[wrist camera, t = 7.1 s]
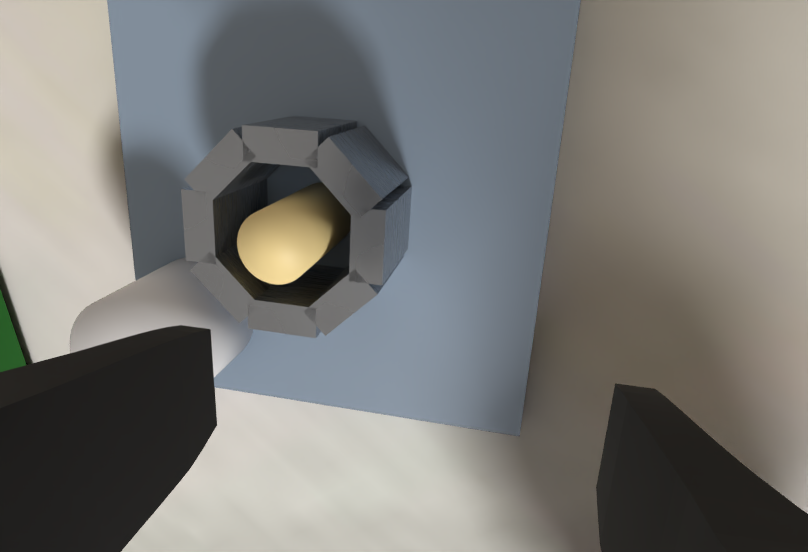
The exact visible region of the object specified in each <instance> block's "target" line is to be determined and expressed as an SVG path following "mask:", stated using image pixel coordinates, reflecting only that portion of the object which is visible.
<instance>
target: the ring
mask: <svg viewBox="0 0 808 552" xmlns="http://www.w3.org/2000/svg"><path fill="white" fill-rule="evenodd" d="M281 165H290V166H301V167H310V169H311V170H312V171H313V172H314V173H315V174H316V175H317V177H318V178H319V179H320V180H321V181H322V182H323V184H324V185H325V186H326V187H327V188H328V189H329V190H330V192H331V193H332V194H333V195H334V196H335V197H336V199H337V200H338V201H339V202H340V203H341V204H342V205H343V207H344V208H345V209H346V210H347V211H348V212H349V214H350V215H351V229H350V263H349V266H348V267H347V268H340V267H332V266H324V265H316V264H314V265H313V266H311V267H310V268H309V269H308V270H307V271H306V272H305V273H303V274H302V275H301V276H300V277H299V278H297V279H296V280H294V281H293V282H290V283H287V284H280V285H277V284H270V283H267V282H264V281H262V280H260V279H258V278H256V277H255V276H254V275H253V274H251V273H250V272H249V271H248V269H247V268H246V267H245V265H244V264H243V262H242V260H241V258H240V256H239V252H238V248H237V237H238V232H239V229H240V227H241V225H242V223H243V222H244V221H245V220H246V218H248V217H249V216H250V215H252V214H253V213H255V212H257V211H259V210H261V209H263V208H265V207H267V206H268V191H267V178H268V177H270V176H271V175H272V174H273V173H274V172H275V171H276V170H277V169H278V168H279V167H280V166H281ZM408 177H409V176H408V175H407V174H406V173H405V172H404V170H403V169H402V168H401V167H400V166H399V164H398V163H397V162H396V161H395V160H394V159H393V157H392V156H391V155H390V154H389V153H388V151H387V150H386V149H385V148H384V147H383V145H382V144H381V143H380V142H379V141H378V140H377V138H376V137H375V136H374V135H373V134H372V132H371V131H370V130H369V129H368V128H367V127H366V125H365V126H362V127H359V128H357V121H353V120H340V119H327V118H315V117H302V116H290V117H284V118H279V119H273V120H267V121H262V122H256V123H250V124H245V125H242V127H239V128H233V129H231V130H230V131H229V132H228V133H227V134H226V136H225V137H224V138H223V139H222V140H221V141H220V142H219V143H218V144H217V145H216V146H215V147H214V148H213V149H212V150H211V151H210V153H209V154H208V155H207V156H206V157H205V158H204V159H203V160H202V161H201V162H200V163H199V164H198V165H197V166H196V167H195V168H194V169H193V171H192V172H191V173H190V174H189V175H188V176H187V177H186V178H185V179H184V180H185V181H186V182H187V183H188V184H189V185H190V186H189V187H186V188H183V189H181V196H182V211H183V226H184V241H185V256H186V261H193V262H198V263H197V264H196V265H195V266H194V267H193V268H192V269H191V270H190V271H191V272H192V273H193V274H194V275H195V276H196V277H197V278H198V279H199V280H200V282H201V283H202V284H203V285H204V286H205V287H206V288H207V289H208V290H209V291H210V292H211V293H212V295H213V296H214V297H215V298H216V299H217V300H218V301H219V302H220V303H221V304H222V305H223V307H224V308H225V309H226V310H227V311H228V312H229V313H230V314H231V315H232V316H233V317H234V318H235V320H236V321H237V322H238V323H240V322H242V321H243V320H244V319H245V318H246V317H247V316H248V329H255V330H262V331H269V332H276V333H283V334H290V335H296V336H303V337H310V338H317V336H318V335H319V334H320V333H321V332H322V333H323V334H324V335H325V336H326V335H327V334H328V333H330V332H331V331H332V330H334V329H335V328H336V327H337V326H339V325H340V324H341V323H342V322H344V321H345V320H346V319H347V318H349V317H350V316H351V315H352V314H354V313H355V312H356V311H357V310H359V309H360V308H361V307H362V306H364V305H365V304H366V303H368V302H369V301H370V300H371V299H373V298H374V297H375V296H376V295H378V293H379V292H380V290H381V289H382V287H383V286H384V285H385V283H386V282H387V280H388V279H389V277H390V276H391V275H392V273H393V272H394V270H395V269H396V267H397V266H398V265H399V263H400V262H401V260H402V259H403V257H404V256H403V255H404V254H405V252H406V251H407V250H408V241H409V225H410V209H411V194H412V186H406V185H400V184H401V183H402V182H403V181H405V180H406V179H407V178H408Z"/></svg>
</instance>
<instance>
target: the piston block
mask: <svg viewBox="0 0 808 552" xmlns="http://www.w3.org/2000/svg"><path fill="white" fill-rule="evenodd" d="M107 2H108V12H109V22H110V32H111V42H112V52H113V62H114V71H115V81H116V91H117V101H118V111H119V121H120V131H121V141H122V151H123V160H124V170H125V180H126V190H127V200H128V210H129V220H130V230H131V239H132V249H133V259H134V269H135V279H136V281H134V282H132V283H130V284H128V285H127V286H125V287H123V288H121V289H119V290H117V291H115V292H113V293H111V294H109V295H107V296H106V297H104V298H102V299H100V300H98V301H96V302H94V303H92V304H91V305H89V306H87V307H86V308H85V309H84V310H83V311H82V312H81V313H80V314H79V315H78V317H77V318H76V320H75V322H74V324H73V327H72V330H71V335H70V353H73V352H77V351H80V350H84V349H87V348H91V347H94V346H98V345H101V344H104V343H108V342H111V341H115V340H118V339H122V338H125V337H129V336H132V335H136V334H140V333H144V332H148V331H152V330H156V329H160V328H165V327H171V326H178V325H184V326H191V327H199V328H206V329H211V342H212V358H213V373H214V387H217V388H223V389H229V390H235V391H242V392H248V393H254V394H260V395H266V396H273V397H279V398H285V399H291V400H297V401H304V402H310V403H316V404H322V405H328V406H334V407H341V408H347V409H353V410H359V411H365V412H372V413H378V414H384V415H390V416H396V417H403V418H409V419H415V420H421V421H427V422H434V423H440V424H446V425H452V426H458V427H464V428H471V429H477V430H483V431H489V432H495V433H502V434H508V435H514V436H520V429H521V422H522V415H523V408H524V401H525V393H526V386H527V379H528V372H529V365H530V358H531V351H532V344H533V336H534V329H535V322H536V315H537V308H538V301H539V294H540V287H541V279H542V272H543V265H544V258H545V251H546V244H547V237H548V230H549V223H550V215H551V208H552V201H553V194H554V187H555V180H556V173H557V166H558V158H559V151H560V144H561V137H562V130H563V123H564V116H565V109H566V102H567V94H568V87H569V80H570V73H571V66H572V59H573V52H574V45H575V37H576V30H577V23H578V16H579V9H580V2H581V0H107ZM290 116H302V117H315V118H327V119H340V120H353V121H357V128H359V127H362V126H365V125H366V127H367V128H368V129H369V130H370V131H371V132H372V134H373V135H374V136H375V137H376V138H377V140H378V141H379V142H380V143H381V144H382V145H383V147H384V148H385V149H386V150H387V151H388V153H389V154H390V155H391V156H392V157H393V159H394V160H395V161H396V162H397V163H398V164H399V166H400V167H401V168H402V169H403V170H404V172H405V173H406V174H407V175H408V176H409V177H408V178H407V179H406V180H405V181H403V182H402V183H401V184H400V185H406V186H412V194H411V209H410V225H409V241H408V250H407V251H406V252H405V254H404V255H403V256H404V257H403V259H402V260H401V262H400V263H399V265H398V266H397V267H396V269H395V270H394V272H393V273H392V275H391V276H390V277H389V279H388V280H387V282H386V283H385V285H384V286H383V287H382V289H381V290H380V292H379V293H378V295H376V296H375V297H374V298H373V299H371V300H370V301H369V302H368V303H366V304H365V305H364V306H362V307H361V308H360V309H359V310H357V311H356V312H355V313H354V314H352V315H351V316H350V317H349V318H347V319H346V320H345V321H344V322H342V323H341V324H340V325H339V326H337V327H336V328H335V329H334V330H332V331H331V332H330V333H328V334H327V335H326V336H325V335H324V334H323V333H322V332H321V333H320V334H319V335H318V336H317V338H310V337H303V336H296V335H290V334H283V333H276V332H269V331H262V330H255V329H248V316H247V317H246V318H245V319H244V320H243V321H242V322H240V323H238V322H237V321H236V320H235V318H234V317H233V316H232V315H231V314H230V313H229V312H228V311H227V310H226V309H225V308H224V307H223V305H222V304H221V303H220V302H219V301H218V300H217V299H216V298H215V297H214V296H213V295H212V293H211V292H210V291H209V290H208V289H207V288H206V287H205V286H204V285H203V284H202V283H201V282H200V280H199V279H198V278H197V277H196V276H195V275H194V274H193V273H192V272H191V271H190V270H191V269H192V268H193V267H194V266H195V265H196V264H197V263H198V262H193V261H186V256H185V241H184V226H183V211H182V196H181V189H183V188H186V187H189V186H190V185H189V184H188V183H187V182H186V181H185V180H184V179H185V178H186V177H187V176H188V175H189V174H190V173H191V172H192V171H193V169H194V168H195V167H196V166H197V165H198V164H199V163H200V162H201V161H202V160H203V159H204V158H205V157H206V156H207V155H208V154H209V153H210V151H211V150H212V149H213V148H214V147H215V146H216V145H217V144H218V143H219V142H220V141H221V140H222V139H223V138H224V137H225V136H226V134H227V133H228V132H229V131H230V130H231V129H233V128H239V127H242V125H245V124H250V123H256V122H262V121H267V120H273V119H279V118H284V117H290ZM267 191H268V206H267V207H265V208H263V209H261V210H259V211H257V212H255V213H253V214H252V215H250V216H249V217H248V218H246V220H245V221H244V222H243V223H242V225H241V227H240V229H239V232H238V237H237V248H238V252H239V256H240V258H241V260H242V262H243V264H244V265H245V267H246V268H247V269H248V271H249V272H250V273H251V274H253V275H254V276H255V277H256V278H258V279H260V280H262V281H264V282H267V283H270V284H277V285H280V284H287V283H290V282H293V281H294V280H296V279H297V278H299V277H300V276H301V275H302V274H303V273H305V272H306V271H307V270H308V269H309V268H310V267H311V266H313V265H314V264H316V265H324V266H332V267H340V268H347V267H348V266H349V263H350V229H351V215H350V214H349V212H348V211H347V210H346V209H345V208H344V207H343V205H342V204H341V203H340V202H339V201H338V200H337V199H336V197H335V196H334V195H333V194H332V193H331V192H330V190H329V189H328V188H327V187H326V186H325V185H324V184H323V182H322V181H321V180H320V179H319V178H318V177H317V175H316V174H315V173H314V172H313V171H312V170H311V169H310V167H301V166H290V165H281V166H280V167H279V168H278V169H277V170H276V171H275V172H274V173H273V174H272V175H271V176H270V177H268V178H267Z"/></svg>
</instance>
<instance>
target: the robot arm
mask: <svg viewBox="0 0 808 552" xmlns="http://www.w3.org/2000/svg"><path fill="white" fill-rule="evenodd" d="M216 426H217V418H216V403H215V388H214V373H213V358H212V342H211V329H206V328H199V327H191V326H184V325H178V326H171V327H165V328H160V329H156V330H152V331H148V332H144V333H140V334H136V335H132V336H129V337H125V338H122V339H118V340H115V341H111V342H108V343H104V344H101V345H98V346H94V347H91V348H87V349H84V350H80V351H77V352H73V353H70V354H67V355H63V356H59V357H55V358H52V359H48V360H44V361H40V362H37V363H33V364H29V365H25V366H21V367H18V368H14V369H10V370H6V371H3V372H0V552H121V551H122V549H123V548H124V547H125V546H126V545H127V544H128V542H129V541H130V540H131V539H132V538H133V537H134V535H135V534H136V533H137V532H138V531H139V529H140V528H141V527H142V526H143V525H144V524H145V522H146V521H147V520H148V519H149V518H150V516H151V515H152V514H153V513H154V512H155V511H156V509H157V508H158V507H159V506H160V505H161V503H162V502H163V501H164V500H165V499H166V497H167V496H168V495H169V494H170V493H171V491H172V490H173V489H174V488H175V487H176V485H177V484H178V483H179V482H180V481H181V479H182V478H183V477H184V476H185V474H186V473H187V472H188V471H189V469H190V468H191V466H192V465H193V463H194V462H195V460H196V459H197V457H198V456H199V454H200V452H201V451H202V449H203V448H204V446H205V444H206V443H207V441H208V439H209V438H210V436H211V434H212V432H213V431H214V429H215V427H216ZM596 489H597V507H598V522H599V536H600V546H601V551H602V552H808V514H807V513H806V512H804V511H803V510H802V509H800V508H799V507H797V506H796V505H795V504H793V503H792V502H791V501H789V500H788V499H787V498H785V497H784V496H783V495H781V494H780V493H779V492H778V491H776V490H775V489H774V488H772V487H771V486H770V485H768V484H767V483H766V482H764V481H763V480H762V479H761V478H759V477H758V476H757V475H756V474H754V473H753V472H752V471H751V470H749V469H748V468H747V467H746V466H744V465H743V464H742V463H741V462H739V461H738V460H737V459H736V458H735V457H734V456H732V455H731V454H730V453H729V452H728V451H726V450H725V449H724V448H723V447H722V446H721V445H719V444H718V443H717V442H716V441H715V440H714V439H712V438H711V437H710V436H709V435H708V434H707V433H706V432H705V431H703V430H702V429H701V428H700V427H699V426H698V425H697V424H695V423H694V422H693V421H692V420H691V419H690V418H689V417H688V416H687V415H685V414H684V413H683V412H682V411H681V410H680V409H679V408H677V407H676V406H675V405H674V404H673V403H672V402H671V401H669V400H668V399H667V398H666V397H665V396H663V395H662V394H661V393H660V392H658V391H657V390H655V389H651V388H644V387H636V386H629V385H621V384H615V389H614V394H613V399H612V405H611V410H610V416H609V421H608V427H607V432H606V438H605V443H604V449H603V454H602V460H601V465H600V471H599V476H598V482H597V487H596Z"/></svg>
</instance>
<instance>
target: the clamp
mask: <svg viewBox="0 0 808 552" xmlns="http://www.w3.org/2000/svg"><path fill="white" fill-rule="evenodd" d="M25 365H26V362H25V359H24V357H23V354H22V351H21V348H20V345H19V342H18V339H17V336H16V333H15V330H14V327H13V324H12V322H11V319H10V316H9V313H8V310H7V307H6V304H5V301H4V298H3V295H2V292H1V290H0V372H3V371H6V370H10V369H14V368H18V367H21V366H25Z"/></svg>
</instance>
